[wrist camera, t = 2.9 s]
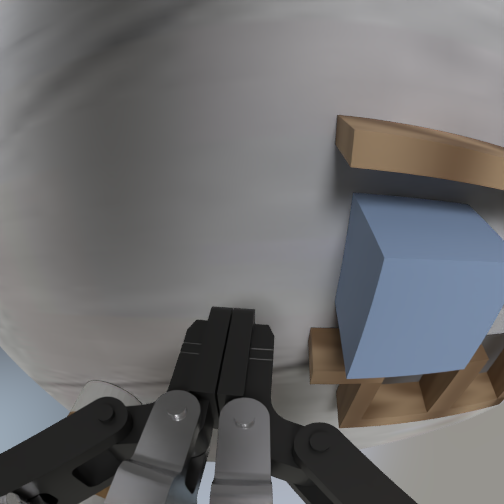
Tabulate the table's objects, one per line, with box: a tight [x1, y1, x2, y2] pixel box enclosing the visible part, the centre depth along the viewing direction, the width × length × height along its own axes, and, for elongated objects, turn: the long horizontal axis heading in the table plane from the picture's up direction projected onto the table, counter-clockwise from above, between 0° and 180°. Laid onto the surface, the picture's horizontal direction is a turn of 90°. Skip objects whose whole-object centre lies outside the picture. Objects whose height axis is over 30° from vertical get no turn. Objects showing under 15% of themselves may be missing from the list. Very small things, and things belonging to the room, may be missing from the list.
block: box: [335, 193, 504, 379], centre depth 12 cm, size 6×6×5 cm
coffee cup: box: [68, 381, 142, 504], centre depth 18 cm, size 8×8×15 cm
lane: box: [308, 115, 504, 428], centre depth 14 cm, size 20×18×3 cm
